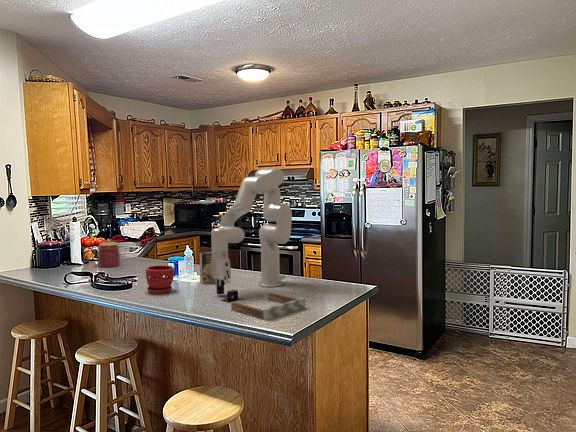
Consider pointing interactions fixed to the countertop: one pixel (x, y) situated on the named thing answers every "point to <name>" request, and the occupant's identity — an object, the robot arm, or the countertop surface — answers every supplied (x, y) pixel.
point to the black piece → (229, 296)
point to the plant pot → (159, 278)
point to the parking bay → (274, 311)
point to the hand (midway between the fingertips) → (220, 293)
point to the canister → (108, 254)
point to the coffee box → (205, 268)
